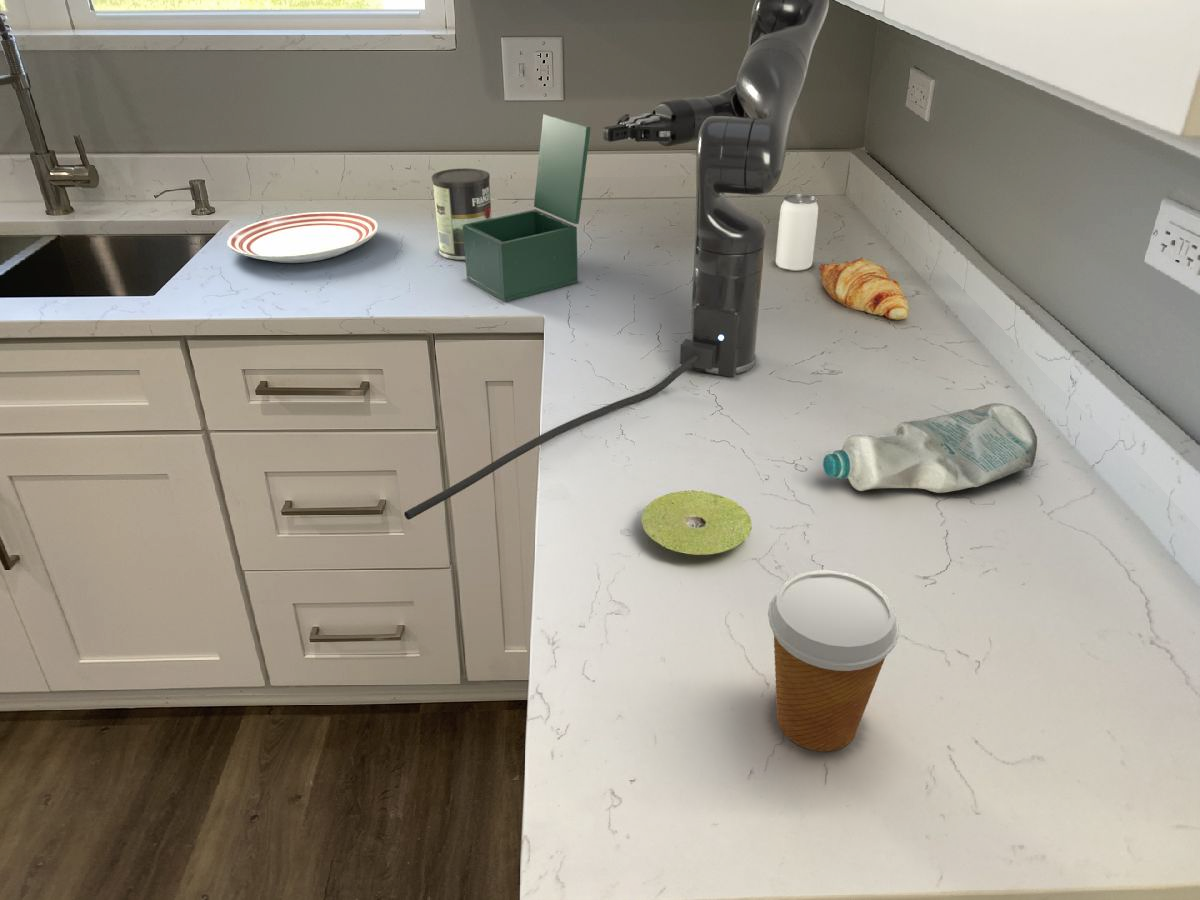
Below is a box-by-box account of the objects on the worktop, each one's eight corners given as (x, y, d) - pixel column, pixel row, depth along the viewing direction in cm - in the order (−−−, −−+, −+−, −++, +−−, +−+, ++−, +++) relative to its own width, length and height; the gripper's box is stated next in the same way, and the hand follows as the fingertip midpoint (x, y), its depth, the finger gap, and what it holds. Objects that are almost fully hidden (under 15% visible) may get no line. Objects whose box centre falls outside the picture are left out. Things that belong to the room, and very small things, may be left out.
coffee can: (503, 245, 175) (499, 170, 168) (478, 263, 167) (472, 185, 160) (456, 239, 178) (449, 165, 171) (428, 256, 170) (420, 179, 163)
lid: (586, 127, 146) (590, 127, 147) (543, 114, 155) (547, 114, 155) (574, 224, 153) (578, 224, 153) (533, 206, 161) (537, 206, 162)
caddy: (504, 302, 151) (501, 244, 146) (466, 280, 160) (462, 224, 155) (577, 282, 158) (576, 226, 153) (537, 262, 167) (535, 209, 162)
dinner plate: (198, 264, 167) (193, 246, 166) (287, 220, 190) (284, 204, 188) (329, 280, 160) (326, 261, 158) (406, 232, 182) (404, 216, 180)
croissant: (915, 341, 145) (942, 295, 142) (875, 324, 139) (903, 276, 137) (829, 294, 161) (852, 252, 159) (791, 277, 155) (814, 233, 153)
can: (810, 259, 168) (817, 193, 161) (813, 272, 162) (821, 204, 156) (774, 258, 168) (780, 193, 162) (776, 271, 163) (782, 203, 156)
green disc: (691, 492, 103) (692, 477, 102) (772, 536, 96) (774, 521, 95) (618, 534, 96) (619, 518, 95) (700, 584, 89) (701, 568, 88)
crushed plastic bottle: (981, 431, 114) (794, 455, 108) (998, 381, 109) (805, 404, 104) (1049, 496, 103) (846, 527, 98) (1070, 444, 99) (860, 473, 93)
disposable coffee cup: (803, 786, 69) (822, 668, 63) (734, 700, 76) (744, 586, 70) (903, 742, 72) (930, 626, 66) (828, 664, 80) (846, 553, 73)
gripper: (660, 93, 168) (582, 105, 159) (709, 105, 159) (629, 118, 150) (659, 136, 172) (583, 149, 163) (707, 149, 163) (629, 165, 154)
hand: (605, 134), depth 157 cm, fingers closed
